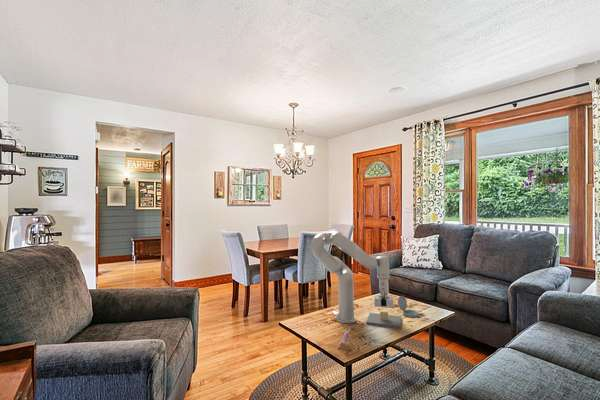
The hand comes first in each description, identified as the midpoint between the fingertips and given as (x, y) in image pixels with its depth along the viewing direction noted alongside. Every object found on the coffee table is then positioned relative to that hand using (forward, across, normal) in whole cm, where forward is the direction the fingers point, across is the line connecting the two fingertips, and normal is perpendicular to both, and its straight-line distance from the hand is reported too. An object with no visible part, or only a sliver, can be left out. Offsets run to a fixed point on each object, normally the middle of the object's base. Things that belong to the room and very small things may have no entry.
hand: (384, 303), depth 183 cm
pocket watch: (+12, +17, -16) cm, 26 cm away
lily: (+11, -38, +18) cm, 44 cm away
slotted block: (+1, 0, 0) cm, 1 cm away
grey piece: (+11, 0, 0) cm, 11 cm away
